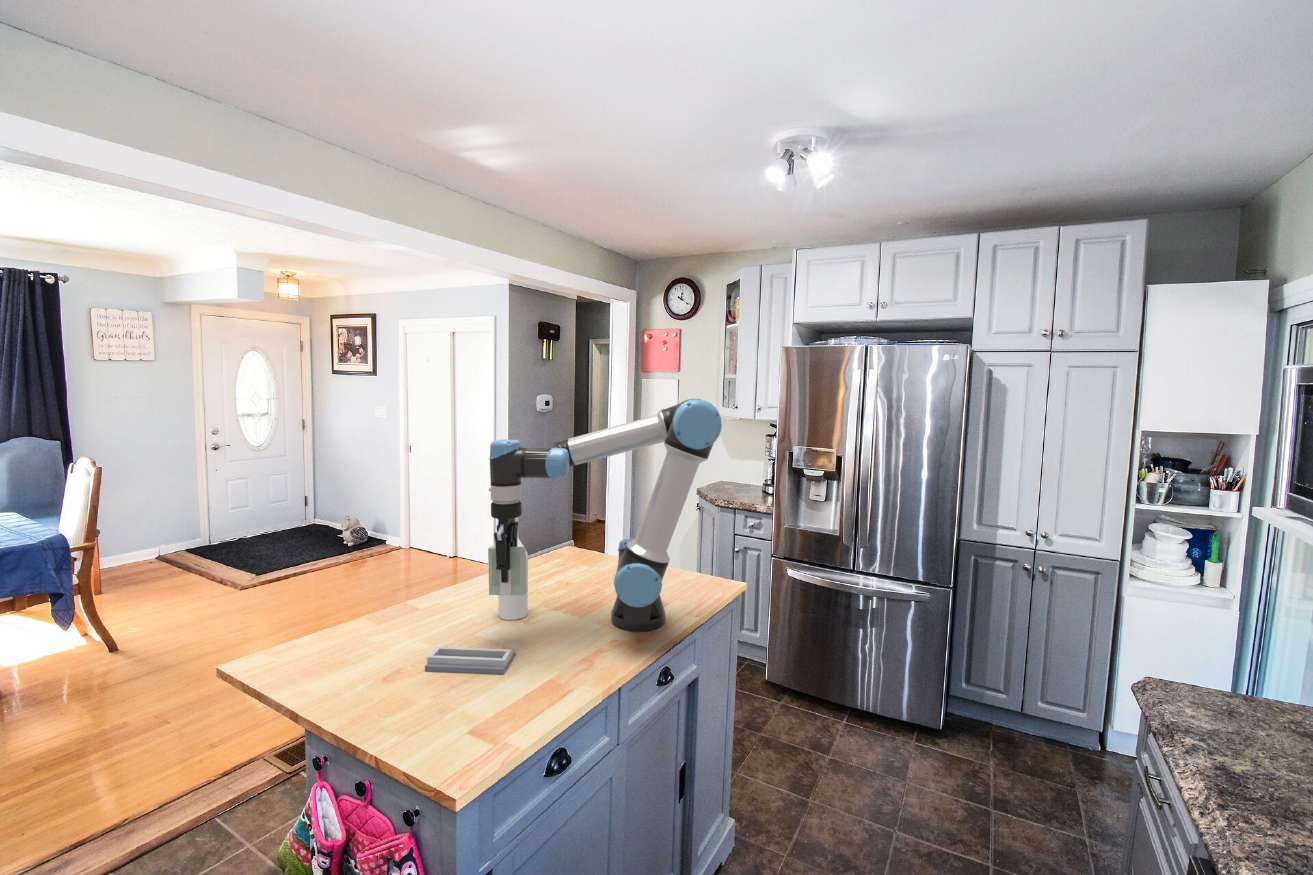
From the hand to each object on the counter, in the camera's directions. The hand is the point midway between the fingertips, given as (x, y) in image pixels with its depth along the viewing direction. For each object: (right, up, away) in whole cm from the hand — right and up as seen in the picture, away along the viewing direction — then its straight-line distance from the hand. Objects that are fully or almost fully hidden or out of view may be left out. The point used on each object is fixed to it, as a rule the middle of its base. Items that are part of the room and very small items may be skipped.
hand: (507, 591), depth 153 cm
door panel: (0, -1, 0) cm, 1 cm away
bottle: (-3, -11, +17) cm, 20 cm away
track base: (-5, -13, -13) cm, 19 cm away
